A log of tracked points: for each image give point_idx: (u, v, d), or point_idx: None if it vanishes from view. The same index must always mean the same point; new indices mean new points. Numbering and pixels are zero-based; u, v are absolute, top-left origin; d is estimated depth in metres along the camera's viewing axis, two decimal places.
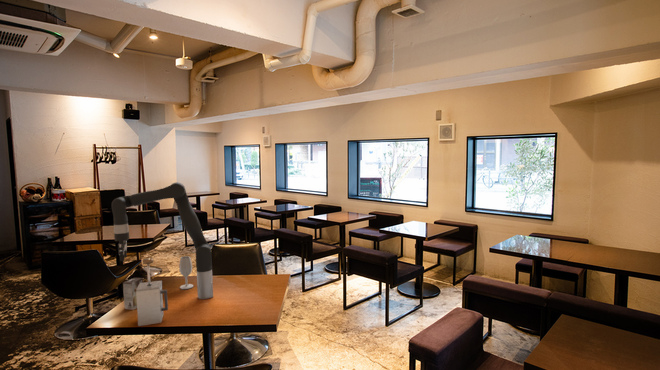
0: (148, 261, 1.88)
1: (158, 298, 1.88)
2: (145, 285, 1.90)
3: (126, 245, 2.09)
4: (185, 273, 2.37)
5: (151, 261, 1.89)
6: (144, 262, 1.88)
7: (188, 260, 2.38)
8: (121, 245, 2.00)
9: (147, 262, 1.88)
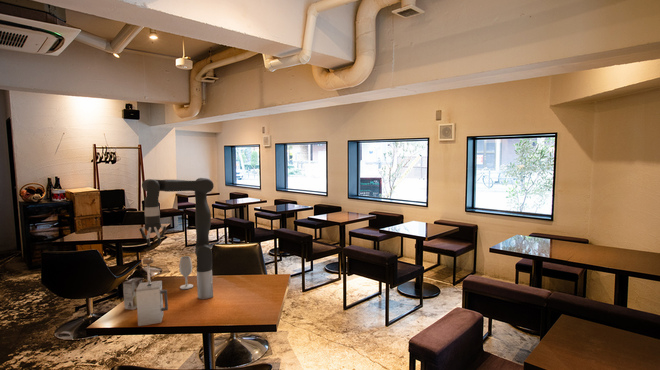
0: (148, 261, 1.88)
1: (158, 298, 1.88)
2: (145, 285, 1.90)
3: None
4: (185, 273, 2.37)
5: (151, 261, 1.89)
6: (144, 262, 1.88)
7: (188, 260, 2.38)
8: None
9: (147, 262, 1.88)
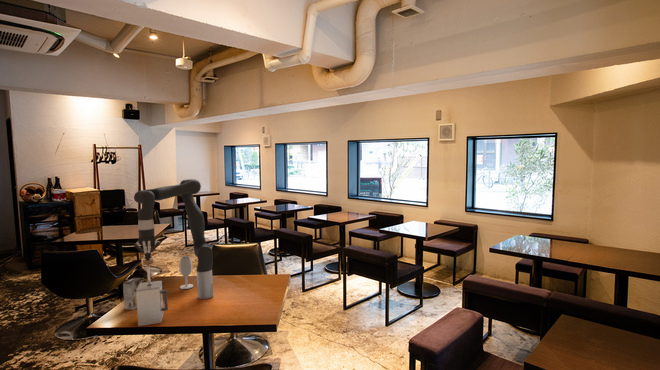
0: (148, 262, 1.88)
1: (158, 298, 1.88)
2: (145, 285, 1.90)
3: None
4: (185, 273, 2.37)
5: (151, 262, 1.89)
6: (144, 263, 1.88)
7: (188, 260, 2.38)
8: None
9: (147, 263, 1.88)
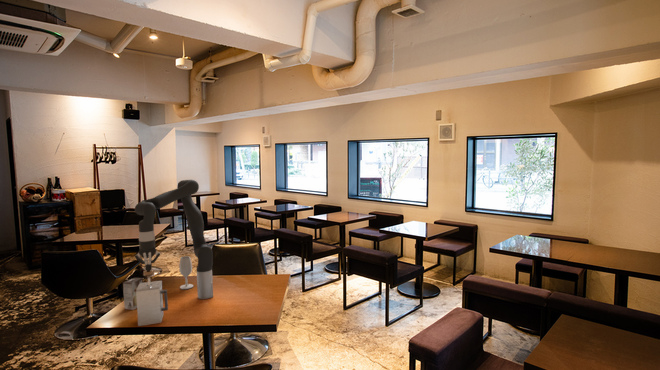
0: (149, 273, 1.89)
1: (158, 298, 1.88)
2: (145, 285, 1.90)
3: None
4: (185, 273, 2.37)
5: (152, 273, 1.90)
6: (145, 274, 1.88)
7: (188, 260, 2.38)
8: None
9: (148, 274, 1.88)
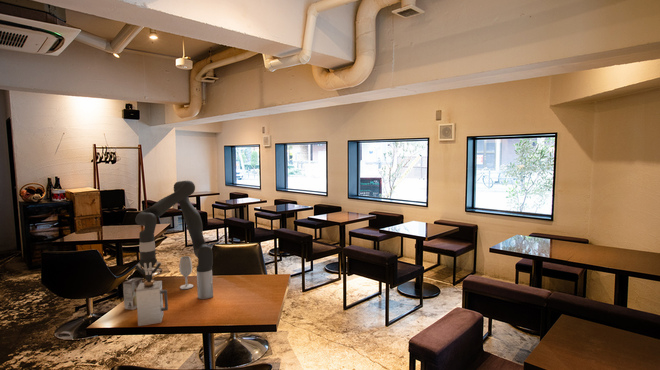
0: (149, 283, 1.89)
1: (158, 298, 1.88)
2: None
3: None
4: (185, 273, 2.37)
5: (152, 283, 1.90)
6: (145, 284, 1.89)
7: (188, 260, 2.38)
8: (160, 264, 1.93)
9: (148, 284, 1.89)
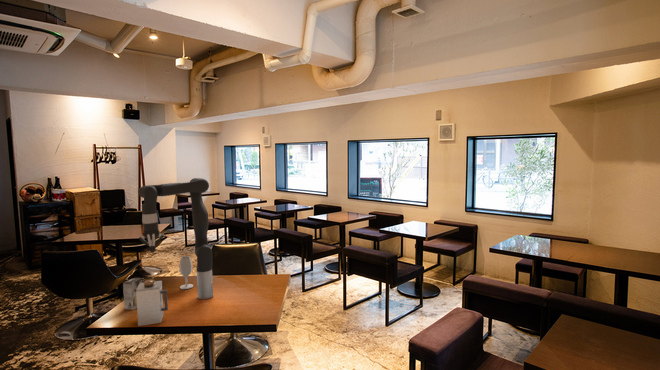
0: (149, 283, 1.89)
1: (158, 298, 1.88)
2: None
3: None
4: (185, 273, 2.37)
5: (152, 283, 1.90)
6: (145, 284, 1.89)
7: (188, 260, 2.38)
8: None
9: (148, 284, 1.89)
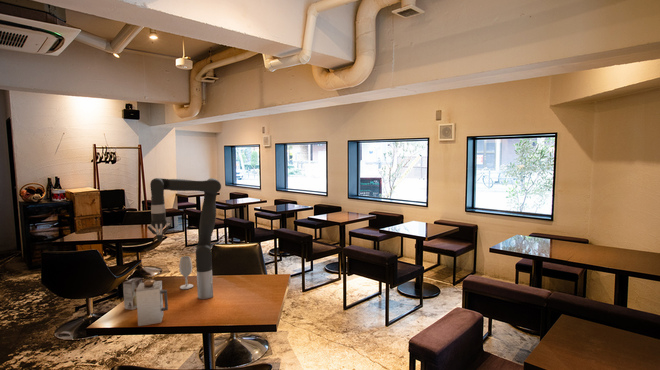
0: (149, 283, 1.89)
1: (158, 298, 1.88)
2: None
3: None
4: (185, 273, 2.37)
5: (152, 283, 1.90)
6: (145, 284, 1.89)
7: (188, 260, 2.38)
8: None
9: (148, 284, 1.89)
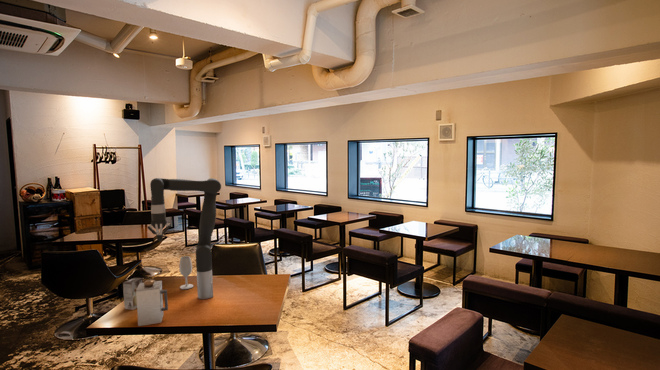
0: (149, 283, 1.89)
1: (158, 298, 1.88)
2: None
3: None
4: (185, 273, 2.37)
5: (152, 283, 1.90)
6: (145, 284, 1.89)
7: (188, 260, 2.38)
8: None
9: (148, 284, 1.89)
